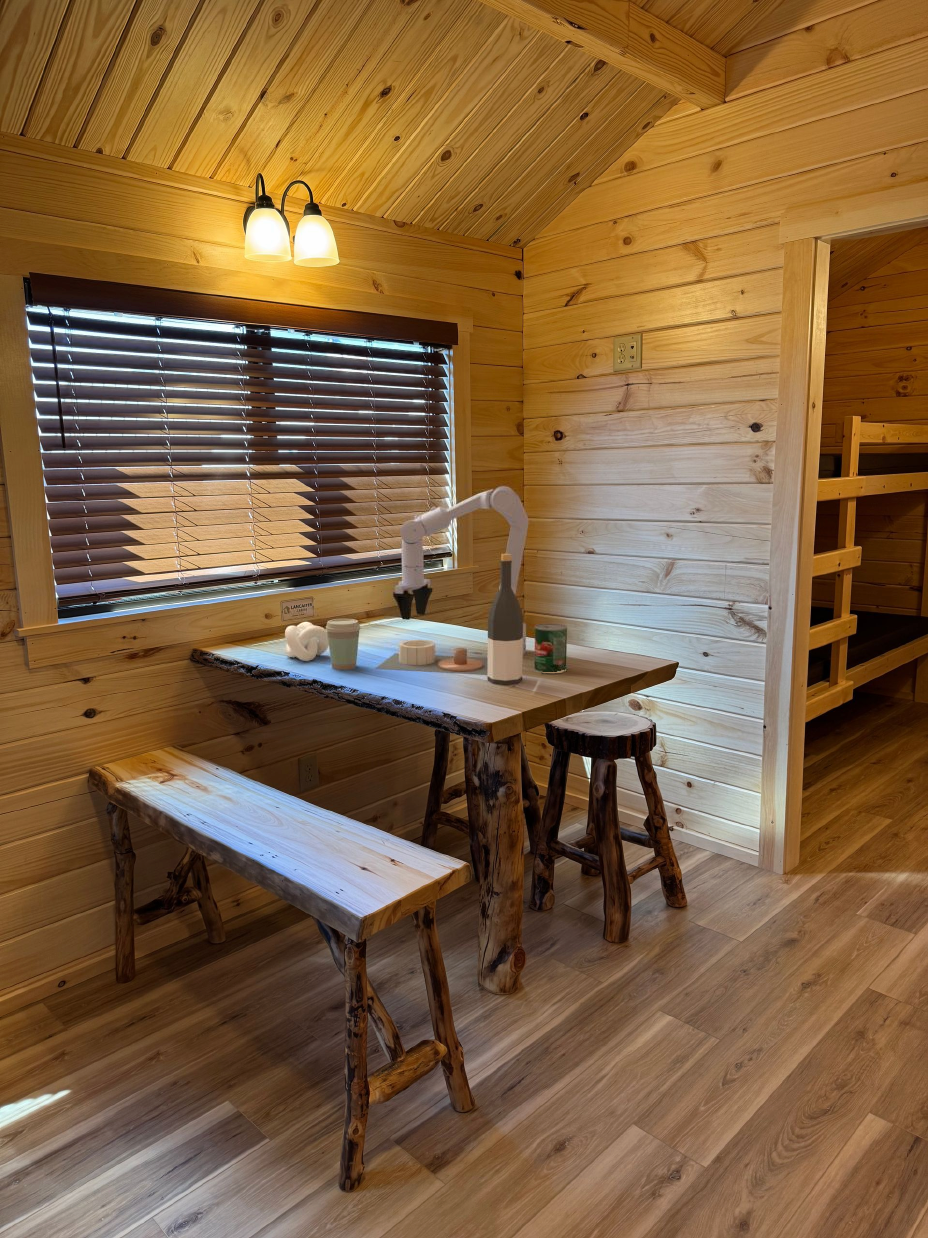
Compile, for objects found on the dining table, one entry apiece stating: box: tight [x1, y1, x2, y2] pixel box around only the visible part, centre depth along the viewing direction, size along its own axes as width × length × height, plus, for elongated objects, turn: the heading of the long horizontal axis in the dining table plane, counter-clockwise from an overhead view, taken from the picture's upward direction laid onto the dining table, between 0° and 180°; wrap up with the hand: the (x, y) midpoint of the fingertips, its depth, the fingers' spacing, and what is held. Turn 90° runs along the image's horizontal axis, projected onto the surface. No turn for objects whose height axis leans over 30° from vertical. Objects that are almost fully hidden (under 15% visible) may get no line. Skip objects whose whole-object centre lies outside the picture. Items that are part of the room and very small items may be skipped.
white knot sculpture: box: [284, 621, 329, 662], centre depth 218 cm, size 11×12×9 cm
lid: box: [438, 647, 483, 672], centre depth 208 cm, size 11×11×4 cm
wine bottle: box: [486, 553, 524, 686], centre depth 193 cm, size 8×8×30 cm
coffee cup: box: [324, 618, 361, 671], centre depth 207 cm, size 8×9×12 cm
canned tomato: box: [534, 622, 568, 673], centre depth 206 cm, size 8×8×11 cm
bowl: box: [398, 639, 436, 665], centre depth 214 cm, size 9×9×4 cm
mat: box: [375, 652, 488, 676], centre depth 211 cm, size 28×17×1 cm, turn 78°
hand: (413, 616), depth 223 cm, fingers open, 7 cm apart
